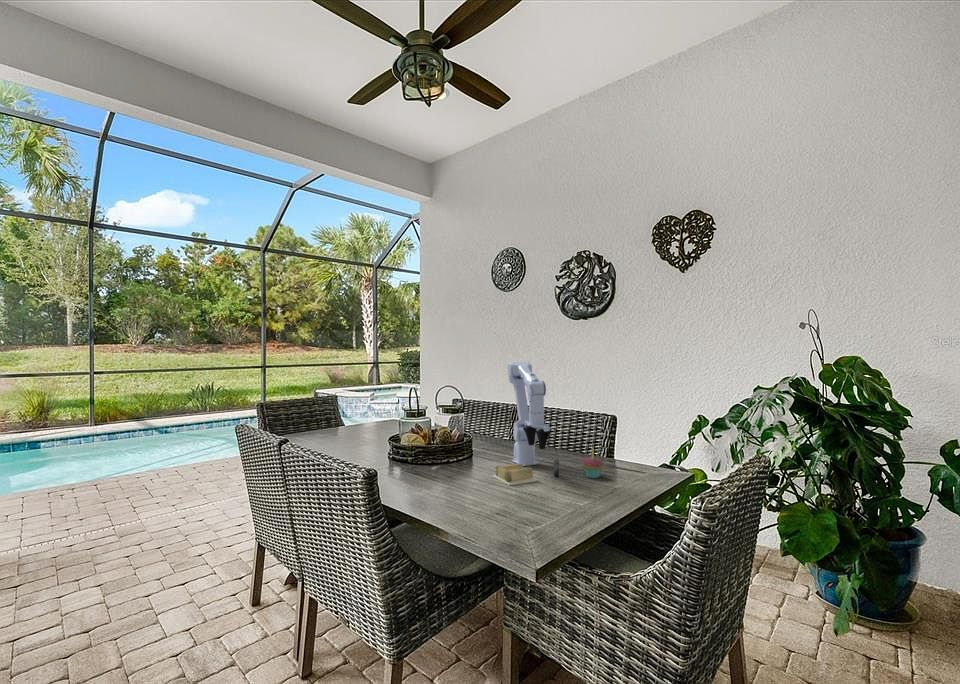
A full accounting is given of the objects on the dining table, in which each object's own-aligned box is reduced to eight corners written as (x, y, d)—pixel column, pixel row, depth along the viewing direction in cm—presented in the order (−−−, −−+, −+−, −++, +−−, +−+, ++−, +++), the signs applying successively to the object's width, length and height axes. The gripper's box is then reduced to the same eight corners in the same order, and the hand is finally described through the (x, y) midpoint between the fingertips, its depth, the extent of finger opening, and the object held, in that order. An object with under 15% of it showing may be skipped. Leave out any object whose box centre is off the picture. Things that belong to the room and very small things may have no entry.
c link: (495, 475, 175) (495, 466, 175) (520, 472, 180) (520, 463, 180) (507, 482, 167) (507, 472, 167) (532, 478, 172) (532, 468, 172)
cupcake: (605, 480, 171) (605, 447, 171) (581, 479, 172) (581, 447, 172) (602, 473, 180) (602, 442, 180) (580, 472, 181) (580, 442, 181)
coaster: (493, 476, 175) (493, 475, 175) (519, 472, 181) (519, 471, 181) (508, 485, 165) (508, 484, 165) (536, 481, 170) (536, 479, 170)
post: (552, 475, 176) (552, 458, 176) (557, 475, 177) (557, 458, 177) (555, 477, 174) (555, 460, 174) (560, 476, 175) (560, 459, 175)
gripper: (518, 410, 185) (518, 444, 184) (538, 415, 172) (538, 451, 171) (532, 409, 188) (533, 442, 188) (553, 414, 175) (554, 449, 175)
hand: (536, 446), depth 180 cm, fingers open, 7 cm apart
